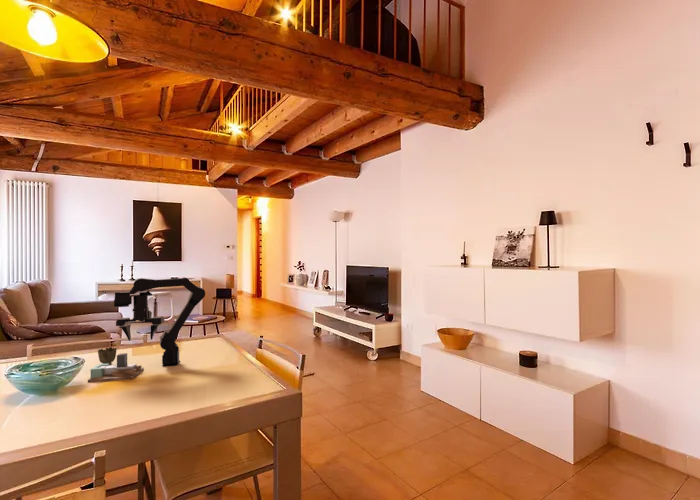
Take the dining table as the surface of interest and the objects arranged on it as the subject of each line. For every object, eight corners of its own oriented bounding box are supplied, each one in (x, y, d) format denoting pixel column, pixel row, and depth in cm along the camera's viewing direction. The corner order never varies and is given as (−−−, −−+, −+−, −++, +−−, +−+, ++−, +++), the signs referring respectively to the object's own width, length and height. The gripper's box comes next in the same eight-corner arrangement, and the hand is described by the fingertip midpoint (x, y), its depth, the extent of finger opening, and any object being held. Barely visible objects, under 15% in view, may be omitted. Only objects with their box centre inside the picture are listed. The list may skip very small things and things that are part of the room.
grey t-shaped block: (136, 370, 163) (136, 352, 163) (133, 373, 159) (133, 354, 159) (101, 372, 161) (101, 354, 161) (96, 375, 157) (96, 356, 157)
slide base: (143, 369, 168) (143, 363, 168) (132, 379, 155) (132, 372, 155) (102, 372, 165) (102, 365, 165) (87, 382, 152) (87, 375, 152)
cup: (101, 369, 169) (101, 351, 169) (95, 366, 174) (95, 349, 174) (119, 365, 175) (119, 348, 175) (112, 362, 180) (112, 346, 180)
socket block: (109, 371, 163) (109, 363, 163) (101, 377, 155) (101, 368, 155) (99, 372, 162) (99, 364, 162) (90, 377, 155) (90, 369, 155)
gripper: (167, 302, 180) (167, 335, 180) (125, 304, 176) (125, 337, 176) (160, 305, 169) (160, 340, 169) (115, 307, 166) (115, 342, 165)
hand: (140, 340), depth 170 cm, fingers open, 9 cm apart
